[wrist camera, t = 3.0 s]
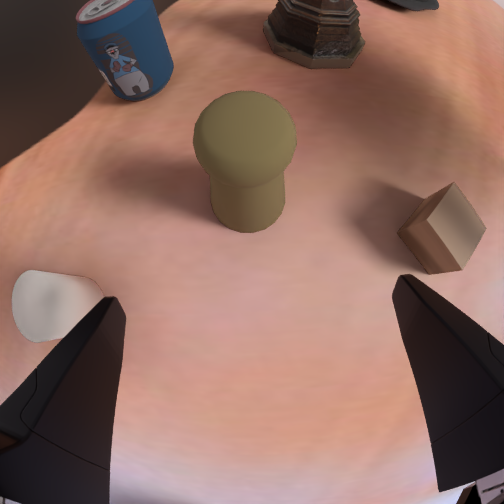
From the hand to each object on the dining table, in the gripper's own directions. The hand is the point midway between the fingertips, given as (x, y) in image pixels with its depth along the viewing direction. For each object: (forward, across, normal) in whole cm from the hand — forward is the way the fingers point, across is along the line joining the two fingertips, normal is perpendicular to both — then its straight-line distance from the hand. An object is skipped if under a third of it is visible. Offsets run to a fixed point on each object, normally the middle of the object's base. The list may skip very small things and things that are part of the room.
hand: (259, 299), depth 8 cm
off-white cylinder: (+9, +15, +10) cm, 20 cm away
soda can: (+26, +10, -6) cm, 28 cm away
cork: (+15, 0, +4) cm, 16 cm away
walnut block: (+12, -16, +7) cm, 21 cm away
